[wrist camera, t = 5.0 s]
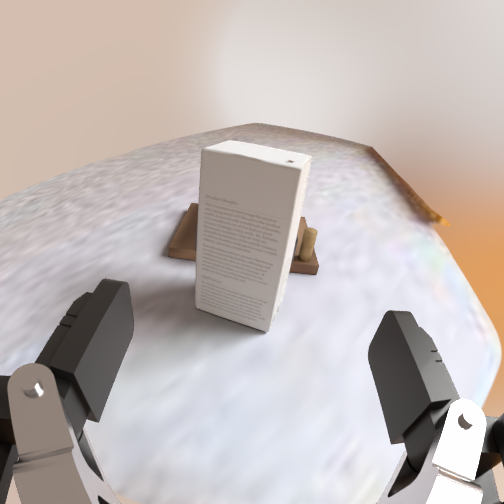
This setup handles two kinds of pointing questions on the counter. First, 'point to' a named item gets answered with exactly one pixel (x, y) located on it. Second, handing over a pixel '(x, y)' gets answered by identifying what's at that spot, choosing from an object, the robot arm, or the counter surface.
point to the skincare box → (247, 229)
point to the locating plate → (301, 259)
